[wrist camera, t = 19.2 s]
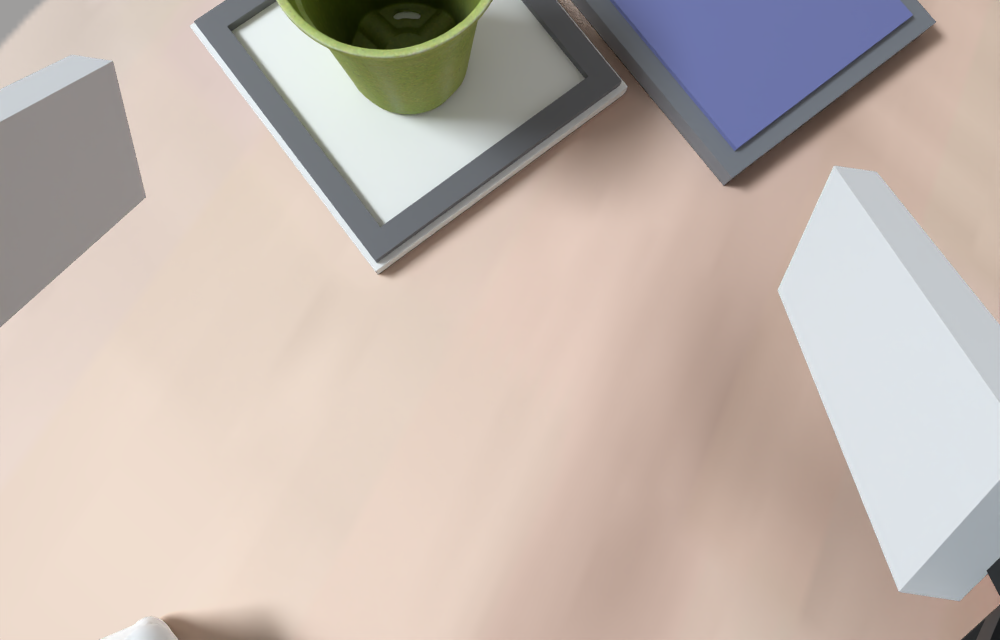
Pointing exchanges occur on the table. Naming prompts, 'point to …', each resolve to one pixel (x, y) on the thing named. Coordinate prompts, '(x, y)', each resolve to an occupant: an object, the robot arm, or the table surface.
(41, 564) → the table surface
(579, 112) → the marked board
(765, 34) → the ink pad
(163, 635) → the bone shaped toy
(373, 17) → the plant pot
